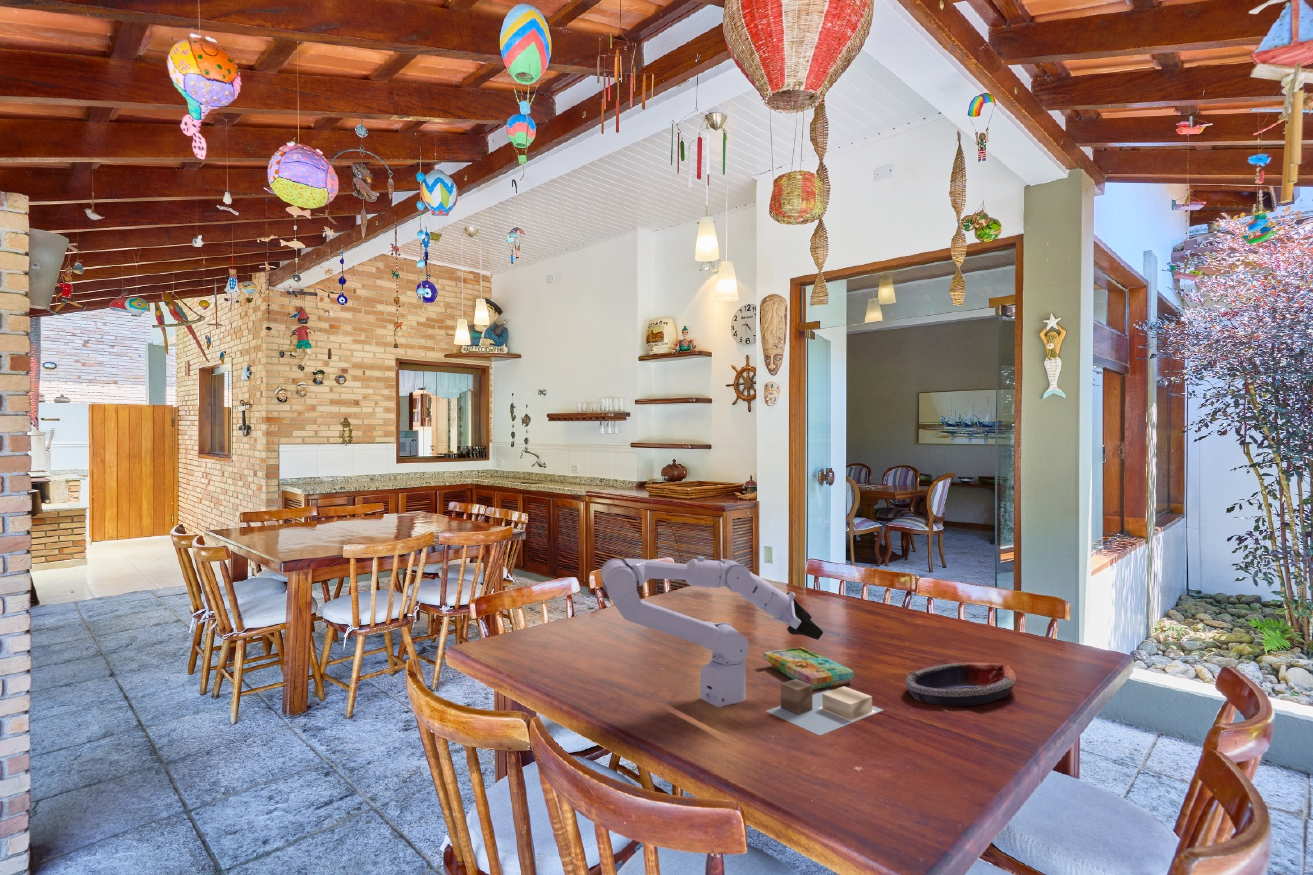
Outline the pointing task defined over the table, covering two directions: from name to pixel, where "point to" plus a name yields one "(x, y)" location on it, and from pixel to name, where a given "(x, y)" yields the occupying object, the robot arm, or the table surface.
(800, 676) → the puzzle game
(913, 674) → the dish
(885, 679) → the table surface
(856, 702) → the maple block
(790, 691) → the walnut block
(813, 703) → the board
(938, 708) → the table surface
